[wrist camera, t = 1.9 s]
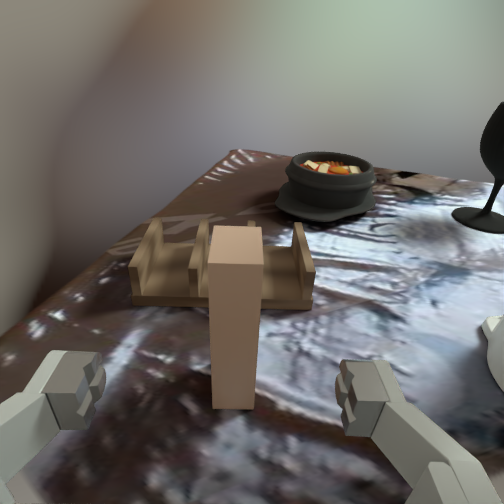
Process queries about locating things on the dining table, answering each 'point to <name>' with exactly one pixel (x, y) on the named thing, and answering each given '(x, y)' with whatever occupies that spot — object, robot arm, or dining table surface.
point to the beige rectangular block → (234, 313)
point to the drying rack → (196, 271)
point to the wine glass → (500, 165)
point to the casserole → (327, 186)
